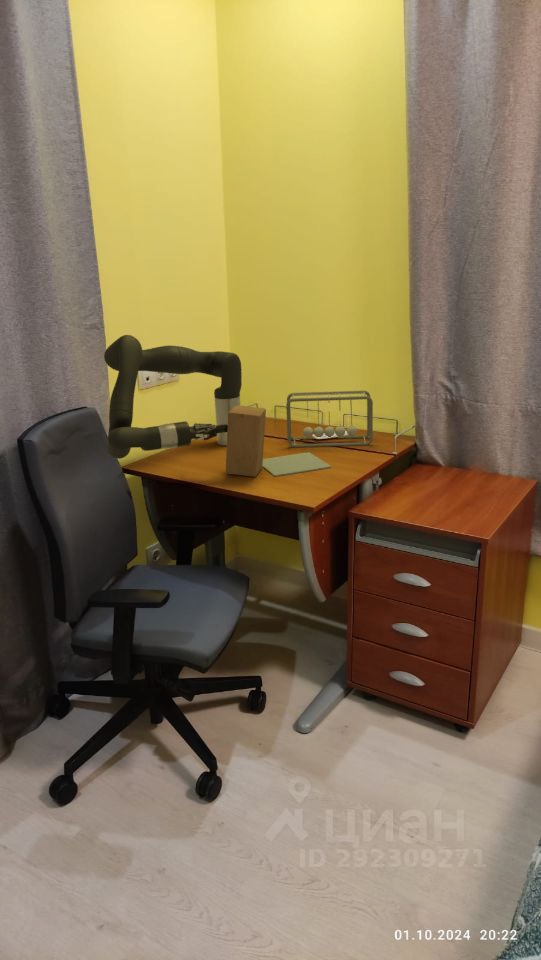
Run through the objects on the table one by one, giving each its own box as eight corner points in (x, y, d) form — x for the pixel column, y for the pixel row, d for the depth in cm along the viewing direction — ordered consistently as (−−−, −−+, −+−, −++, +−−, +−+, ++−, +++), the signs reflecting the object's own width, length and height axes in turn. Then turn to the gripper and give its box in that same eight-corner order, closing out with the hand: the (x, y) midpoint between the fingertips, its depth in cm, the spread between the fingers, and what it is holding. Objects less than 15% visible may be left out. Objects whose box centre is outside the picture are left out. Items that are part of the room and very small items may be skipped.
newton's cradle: (370, 437, 260) (370, 390, 255) (372, 445, 250) (372, 396, 245) (288, 440, 262) (286, 392, 256) (287, 448, 252) (286, 399, 246)
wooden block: (256, 477, 222) (259, 415, 215) (225, 473, 223) (227, 412, 217) (262, 467, 231) (266, 408, 224) (232, 464, 233) (235, 404, 226)
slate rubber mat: (255, 461, 238) (255, 460, 238) (309, 453, 244) (309, 452, 244) (274, 476, 222) (274, 475, 222) (331, 467, 228) (331, 466, 228)
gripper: (177, 428, 209) (233, 420, 214) (167, 418, 221) (220, 411, 226) (179, 452, 211) (235, 444, 217) (169, 442, 223) (222, 434, 228)
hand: (227, 427), depth 221 cm, fingers closed
